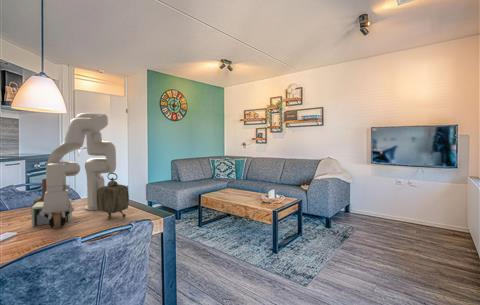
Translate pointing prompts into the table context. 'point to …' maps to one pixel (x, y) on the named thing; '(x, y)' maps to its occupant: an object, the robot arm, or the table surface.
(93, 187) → the robot arm
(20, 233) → the table surface
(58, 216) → the corded block
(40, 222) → the plain block
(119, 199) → the tabletop clock
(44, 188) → the wooden block
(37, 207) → the cubby shelf
